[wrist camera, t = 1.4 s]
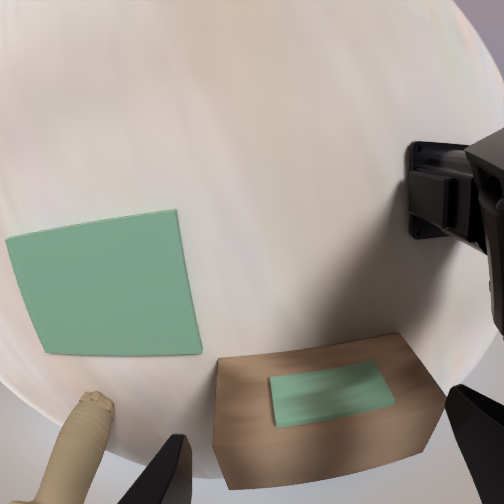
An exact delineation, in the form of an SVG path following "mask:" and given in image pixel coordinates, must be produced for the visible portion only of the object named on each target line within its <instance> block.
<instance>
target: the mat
mask: <svg viewBox="0 0 504 504" xmlns="http://www.w3.org/2000/svg"><path fill="white" fill-rule="evenodd" d="M5 241H6V245H7V249H8V252H9V256H10V260H11V263H12V266H13V270H14V273H15V276H16V279H17V282H18V285H19V288H20V291H21V294H22V297H23V300H24V303H25V305H26V308H27V310H28V313H29V316H30V318H31V321H32V323H33V325H34V328H35V330H36V333H37V335H38V337H39V339H40V342H41V344H42V346H43V348H44V350H45V353H57V354H75V355H107V356H149V355H182V354H201V353H202V350H203V348H202V343H201V339H200V334H199V330H198V325H197V320H196V315H195V310H194V306H193V301H192V296H191V290H190V285H189V280H188V275H187V269H186V264H185V258H184V252H183V246H182V240H181V234H180V228H179V222H178V215H177V209H175V210H167V211H160V212H153V213H146V214H139V215H132V216H126V217H119V218H113V219H106V220H100V221H94V222H88V223H83V224H77V225H71V226H66V227H60V228H55V229H50V230H44V231H39V232H34V233H29V234H24V235H19V236H15V237H10V238H8V239H6V240H5Z"/></svg>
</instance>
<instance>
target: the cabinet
mask: <svg viewBox="0 0 504 504" xmlns="http://www.w3.org/2000/svg"><path fill="white" fill-rule="evenodd" d="M446 398H447V397H446V395H445V394H444V393H443V391H442V390H441V388H440V387H439V386H438V384H437V383H436V381H435V380H434V379H433V377H432V376H431V374H430V373H429V372H428V370H427V369H426V368H425V366H424V365H423V363H422V362H421V361H420V359H419V358H418V357H417V355H416V354H415V353H414V351H413V350H412V349H411V347H410V346H409V345H408V343H407V342H406V341H405V340H404V338H403V337H402V336H401V334H400V333H399V332H398V333H394V334H389V335H384V336H379V337H374V338H369V339H364V340H359V341H353V342H348V343H342V344H336V345H330V346H323V347H317V348H310V349H303V350H295V351H287V352H279V353H271V354H261V355H251V356H240V357H228V358H219V359H218V372H217V385H216V399H215V413H214V428H213V443H212V446H213V449H214V452H215V455H216V458H217V460H218V463H219V466H220V468H221V471H222V474H223V476H224V479H225V481H226V484H227V486H228V489H229V490H241V489H256V488H257V489H258V488H270V487H278V486H288V485H295V484H301V483H308V482H314V481H320V480H325V479H330V478H335V477H340V476H344V475H349V474H353V473H357V472H361V471H365V470H368V469H372V468H376V467H379V466H382V465H386V464H389V463H392V462H395V461H398V460H401V459H404V458H407V457H410V456H413V455H416V454H418V453H421V452H423V450H424V448H425V446H426V445H427V443H428V441H429V439H430V437H431V435H432V433H433V431H434V429H435V427H436V425H437V423H438V421H439V419H440V417H441V415H442V413H443V410H444V408H445V401H446Z"/></svg>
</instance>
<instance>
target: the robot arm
mask: <svg viewBox="0 0 504 504" xmlns="http://www.w3.org/2000/svg"><path fill="white" fill-rule="evenodd" d="M416 146H418V152H416V150H415V148H416ZM409 156H410V173H409V207H408V210H409V212H410V219H409V234H410V236H411V237H412V238H414V239H426V238H436V237H445V236H452V237H454V238H456V239H458V240H460V241H462V242H463V243H465V244H467V245H469V246H471V247H473V248H475V249H476V250H478V251H480V252H482V253H484V254H485V255H487V256H488V264H489V275H490V281H489V290H490V292H491V311H492V315H493V320H494V324H495V325H496V327H497V328H498V330H499V331H500V333H501V334H502V335H503V340H504V128H503V129H501V130H499V131H497V132H495V133H493V134H491V135H489V136H487V137H486V138H484V139H482V140H480V141H478V142H476V143H474V144H472V145H460V144H449V143H437V142H422V141H414V142H412V143H411V144H410V146H409ZM416 229H418V232H417V233H416V234H415V230H416ZM445 410H446V413H447V415H448V418H449V421H450V424H451V427H452V430H453V433H454V436H455V439H456V441H457V443H458V446H459V448H460V450H461V453H462V455H463V457H464V460H465V462H466V464H467V467H468V469H469V471H470V474H471V476H472V478H473V481H474V484H475V486H476V489H477V491H478V494H479V496H480V499H481V501H482V504H504V405H502V404H500V403H498V402H496V401H494V400H492V399H490V398H488V397H486V396H484V395H482V394H480V393H479V392H477V391H475V390H472V389H471V388H468V387H467V386H465V385H463V384H458V385H456V386H453V387H452V388H451V389H450V391H449V394H448V396H447V398H446V401H445ZM191 498H192V449H191V446H190V444H189V442H188V439H187V437H186V435H184V434H172V435H171V436H170V437H169V439H168V440H167V441H166V442H165V444H164V445H163V446H162V448H161V449H160V450H159V452H158V453H157V454H156V456H155V457H154V458H153V459H152V461H151V462H150V463H149V465H148V466H147V467H146V468H145V470H144V471H143V472H142V474H141V475H140V476H139V477H138V478H137V480H136V481H135V482H134V484H133V485H132V486H131V487H130V488H129V490H128V491H127V492H126V493H125V495H124V496H123V497H122V498H121V500H120V501H119V502H118V503H117V504H191Z"/></svg>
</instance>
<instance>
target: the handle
mask: <svg viewBox="0 0 504 504" xmlns="http://www.w3.org/2000/svg"><path fill="white" fill-rule="evenodd" d="M79 402H80V403H79V404H77V406H76V407H75V408H74V409H73V411H72V412H71V413H70V415H69V416H68V418H67V420H66V421H65V423H64V425H63V427H62V429H61V431H60V433H59V436H58V437H57V440H56V443H55V445H54V448H53V451H52V453H51V456H50V459H49V462H48V465H47V468H46V471H45V473H44V476H43V479H42V481H41V484H40V487H39V490H38V492H37V494H36V496H35V498H34V500H33V501H31V502H22V501H11V502H10V504H83V503H84V501H85V498H86V495H87V493H88V490H89V488H90V485H91V483H92V481H93V478H94V476H95V474H96V471H97V469H98V467H99V464H100V462H101V459H102V457H103V454H104V451H105V448H106V445H107V441H108V437H109V433H110V428H111V421H112V420H113V416H114V409H113V402H112V401H111V400H109V399H107V398H106V397H104V396H103V395H102V394H101V393H100V392H97V391H95V392H93V393H85V394H84V395H83V396H82V397H81V398H80V400H79Z"/></svg>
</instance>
